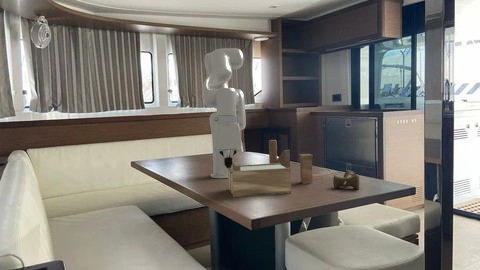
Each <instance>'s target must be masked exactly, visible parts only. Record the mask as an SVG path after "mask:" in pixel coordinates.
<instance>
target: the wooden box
mask: <svg viewBox="0 0 480 270" xmlns="http://www.w3.org/2000/svg"><path fill="white" fill-rule="evenodd" d="M239 165H240V164H239ZM264 165H281V163H271V164H269V163H259V164H257V163H256V164H243V165H242V164H241V165H240V167H247V166H264ZM231 167H233V166H231ZM291 172H292V171H291V167H290V168H277V169H261V170H245V171H231V170H230V168H228V176H229V178H228V190H229V192H230V194H231V195H232V197H233V198H241V197H243V198H244V197H256V196H268V195H269V196H271V195H282V194H283V195H284V194H292V179H291V178H292V175H291Z"/></svg>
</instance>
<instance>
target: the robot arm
mask: <svg viewBox="0 0 480 270" xmlns="http://www.w3.org/2000/svg"><path fill="white" fill-rule="evenodd" d="M203 60H204V61H203V62H204V67H205V70H206V74H207V77H206V78H205V79H204V81H203V83H202V100H203V104H204V106H205V107H207V108H212V109H213V108H214V109H215V110H216V111H215V112H212V113H211V114H210V115H209V125H210V130H211V143H212V165H213V167H212V168H213V169H212V170H213V173H211V174H210V178H212V179H229V176H228V168H231V166H233V163H234V162H233V158H234V156H235V155H236V154H237V153H238V154H239V153H241V152H242V151H243V149H242V135H241V134H242V133H241V131H244V130H245V128H246V125H247V119H246V117H247V116H246V105H245V104H246V102H245V95H244V92H243V90H242V89H240V88H234V87H229V81H230V79H231V78H232V77H233V71H232V70H239V69H240V68H241V67H243V65H244V61H245V59H244V54H243V51H242V50H241V49H239V48H238V47H237V48H234V47H231V48H230V47H229V48H226V47H225V48H224V47H223V48H216V49H214V50H213V51H212V52H208V53H206V54H205V55H204V59H203Z"/></svg>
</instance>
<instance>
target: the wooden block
mask: <svg viewBox="0 0 480 270" xmlns="http://www.w3.org/2000/svg"><path fill="white" fill-rule="evenodd" d="M277 143H278V142H277V140H276V139H270V140H268V157H269V163H268V164H271V163H281V165H282V166H284V167H285V168H290V169H291V150H290V149H285V150H283V151H282V152H281V154H280V155H279V156H278V144H277Z"/></svg>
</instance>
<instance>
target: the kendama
mask: <svg viewBox="0 0 480 270" xmlns="http://www.w3.org/2000/svg"><path fill="white" fill-rule="evenodd" d="M332 180H333V181H332V185H333V188H334V189H335V190H336V189H339V188H342V187H350V188H351V187H352V188H353V189H355V190H359V189H360V176H359V174H358V173H357V174H356V172H354V171H352V170H348V171H345V173H344V175H343V176H340V175H338V174H334V175H333V179H332Z"/></svg>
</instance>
